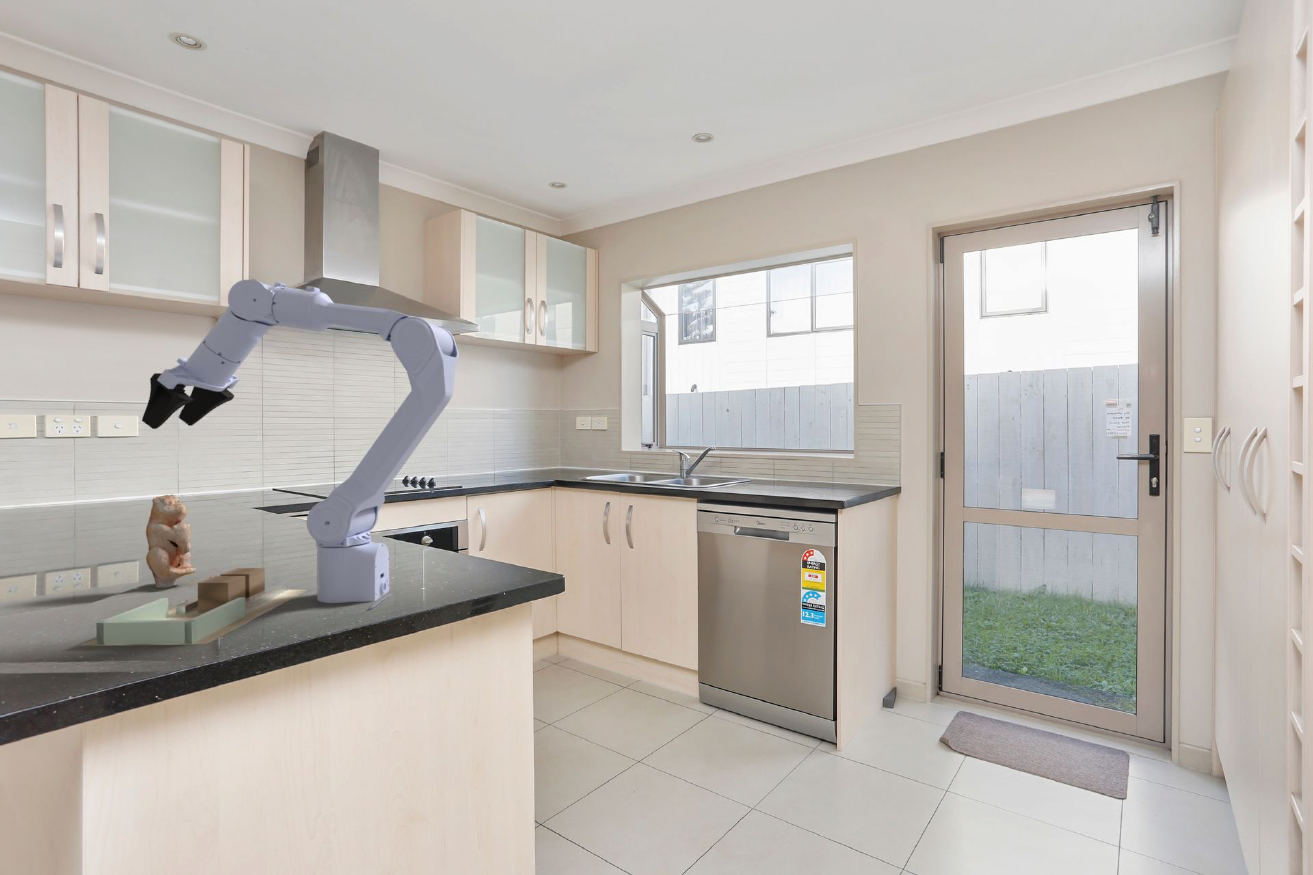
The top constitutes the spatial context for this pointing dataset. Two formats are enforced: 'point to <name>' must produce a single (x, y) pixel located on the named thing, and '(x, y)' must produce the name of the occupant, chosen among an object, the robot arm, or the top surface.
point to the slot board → (248, 617)
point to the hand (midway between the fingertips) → (167, 423)
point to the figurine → (168, 541)
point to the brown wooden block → (250, 579)
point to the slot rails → (249, 602)
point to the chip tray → (165, 624)
